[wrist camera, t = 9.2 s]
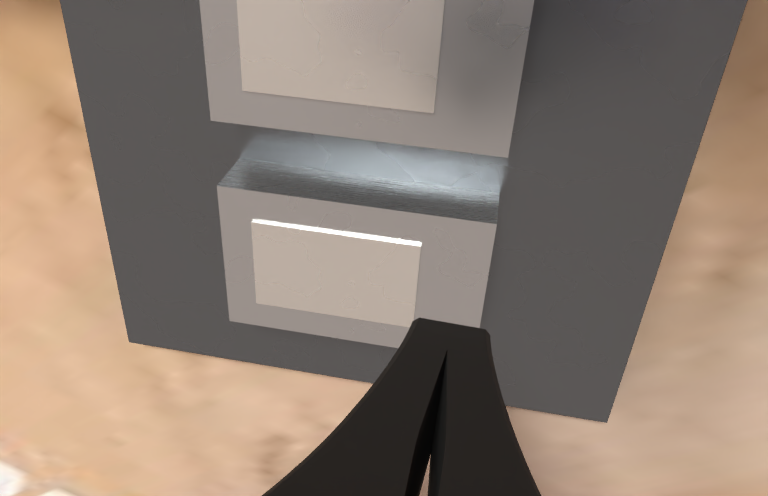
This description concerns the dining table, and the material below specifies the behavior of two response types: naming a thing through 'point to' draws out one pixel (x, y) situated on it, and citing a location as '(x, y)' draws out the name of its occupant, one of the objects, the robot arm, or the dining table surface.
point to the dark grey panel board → (424, 165)
